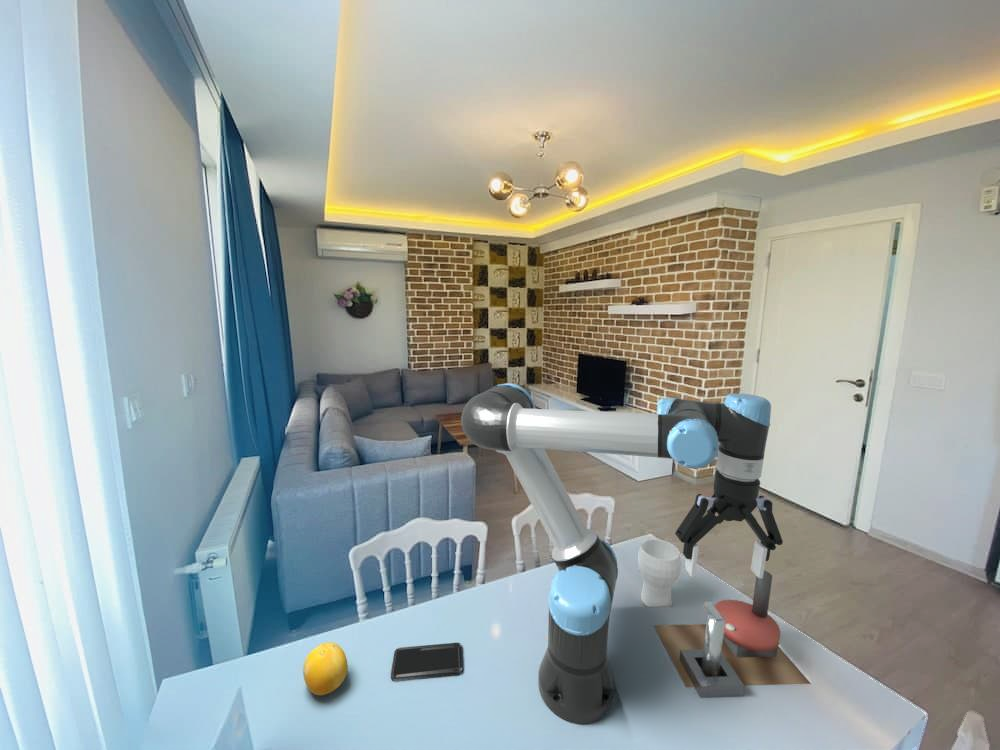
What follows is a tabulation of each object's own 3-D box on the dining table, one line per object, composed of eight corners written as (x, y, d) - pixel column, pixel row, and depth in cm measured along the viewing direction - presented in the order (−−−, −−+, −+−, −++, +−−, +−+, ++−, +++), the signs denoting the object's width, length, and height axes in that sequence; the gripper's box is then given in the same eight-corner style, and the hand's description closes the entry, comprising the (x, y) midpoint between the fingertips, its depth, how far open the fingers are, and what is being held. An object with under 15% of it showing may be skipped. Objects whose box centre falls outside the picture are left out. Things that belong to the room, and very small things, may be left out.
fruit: (357, 679, 84) (355, 645, 83) (323, 712, 77) (320, 676, 76) (329, 660, 89) (327, 628, 87) (295, 690, 82) (292, 655, 80)
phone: (462, 671, 85) (389, 678, 83) (462, 676, 85) (390, 683, 84) (461, 641, 93) (395, 647, 91) (461, 646, 93) (395, 651, 91)
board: (685, 693, 82) (687, 674, 81) (652, 630, 97) (654, 614, 97) (809, 689, 83) (812, 670, 82) (757, 628, 98) (759, 612, 98)
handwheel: (700, 617, 95) (705, 571, 93) (736, 600, 101) (741, 556, 99) (755, 660, 84) (762, 608, 82) (792, 638, 89) (799, 589, 87)
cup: (670, 588, 112) (674, 539, 110) (683, 617, 102) (688, 563, 99) (631, 585, 113) (634, 536, 111) (640, 613, 103) (644, 560, 100)
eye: (700, 697, 79) (701, 686, 79) (679, 659, 88) (680, 649, 87) (742, 696, 79) (744, 685, 79) (718, 658, 88) (719, 648, 88)
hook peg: (706, 684, 82) (713, 620, 80) (693, 663, 87) (699, 602, 84) (721, 684, 82) (729, 620, 80) (708, 662, 87) (714, 601, 85)
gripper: (682, 480, 74) (669, 584, 78) (816, 484, 74) (797, 587, 78) (665, 464, 81) (654, 559, 85) (787, 468, 82) (771, 562, 85)
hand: (723, 573), depth 82 cm, fingers open, 13 cm apart
